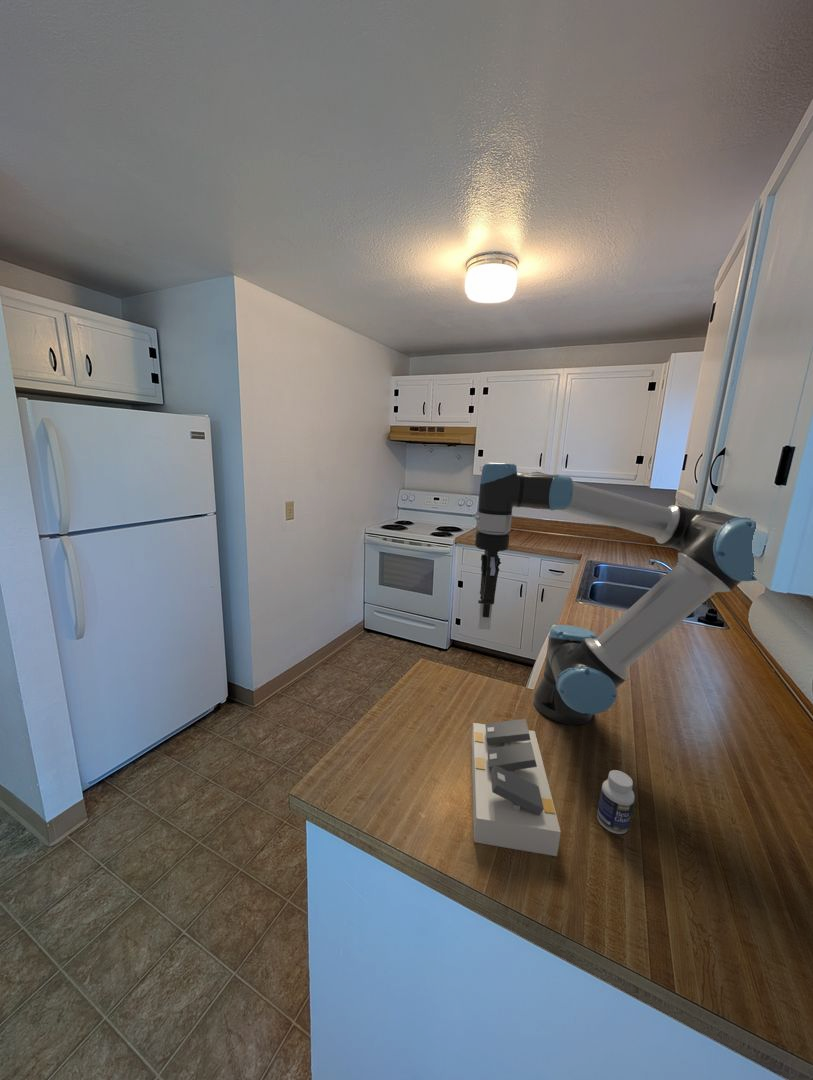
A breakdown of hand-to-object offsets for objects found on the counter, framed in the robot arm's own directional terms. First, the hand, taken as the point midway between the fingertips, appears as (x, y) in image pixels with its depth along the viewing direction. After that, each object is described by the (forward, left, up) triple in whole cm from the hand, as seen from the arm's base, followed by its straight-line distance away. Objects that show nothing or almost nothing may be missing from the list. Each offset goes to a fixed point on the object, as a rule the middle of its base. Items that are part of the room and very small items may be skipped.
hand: (483, 627), depth 98 cm
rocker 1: (-6, +12, -18) cm, 23 cm away
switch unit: (-6, +20, -26) cm, 33 cm away
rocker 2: (-6, +20, -18) cm, 28 cm away
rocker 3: (-6, +28, -18) cm, 34 cm away
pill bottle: (-25, +24, -26) cm, 43 cm away
